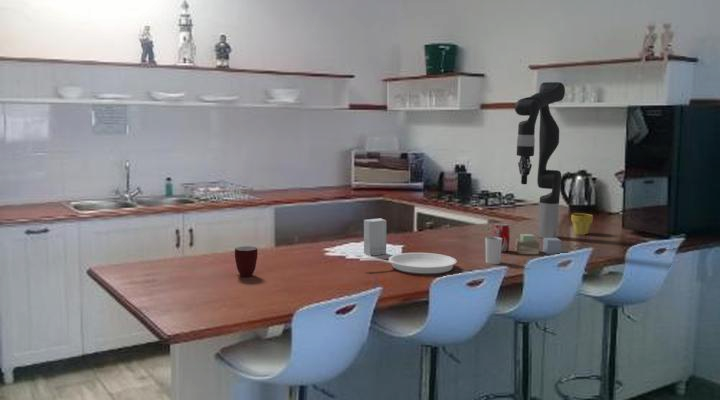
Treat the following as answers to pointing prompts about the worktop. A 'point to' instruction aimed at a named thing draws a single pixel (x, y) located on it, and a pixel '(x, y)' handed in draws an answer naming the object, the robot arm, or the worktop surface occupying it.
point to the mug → (246, 260)
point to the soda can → (502, 235)
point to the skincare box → (375, 236)
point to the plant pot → (581, 223)
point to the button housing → (527, 247)
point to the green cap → (527, 238)
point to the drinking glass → (493, 249)
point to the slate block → (551, 245)
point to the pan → (420, 263)
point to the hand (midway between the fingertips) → (523, 184)
